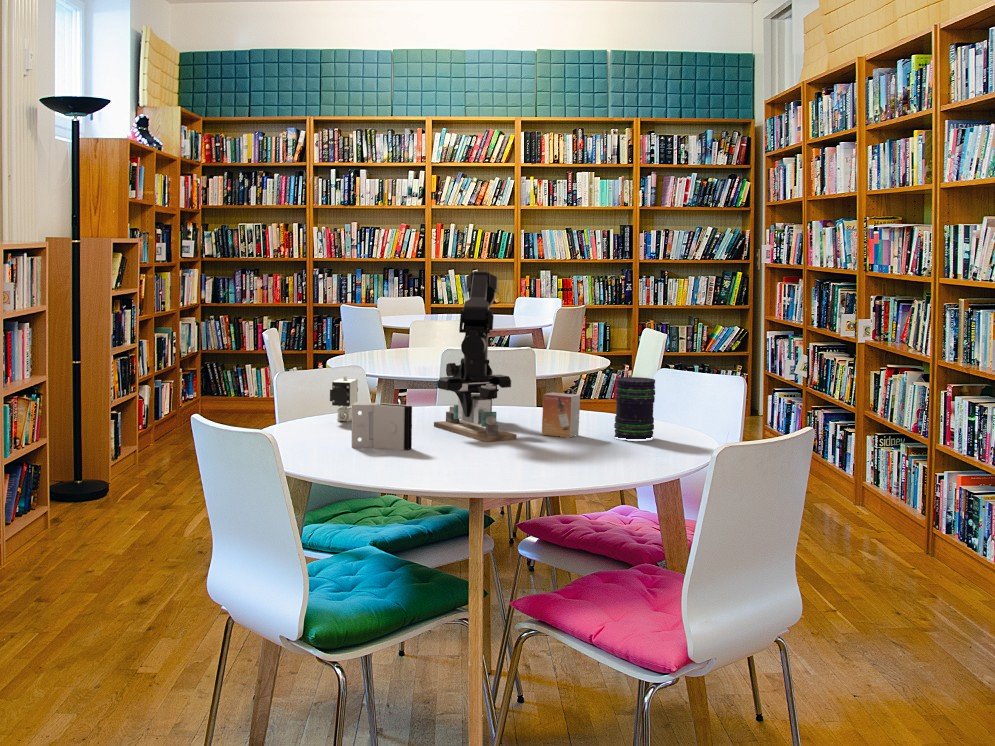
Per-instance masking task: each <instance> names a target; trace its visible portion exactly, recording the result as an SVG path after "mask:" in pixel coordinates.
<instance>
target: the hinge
mask: <svg viewBox="0 0 995 746" xmlns="http://www.w3.org/2000/svg"><path fill="white" fill-rule="evenodd" d="M351 408H352V420H351V448H352V449H355V448H375V449H383V450H384V449H386V450H394V451H395V450H396V451H409V450H412V449H413V448H412V444H413V443H412V440H413V438H412V436H413V434H412V433H413V431H412V429H413V427H412V426H413V406H411V405H410V404H409V405H408V404H397V403H386V402H385V403H383V402H381V403H380V404H379V402H368V403H366V404H365V403H364V404H362V403H361V404H360V403H359V404H357V403H355V404H352V405H351ZM359 412H361V414H359ZM359 438H361V440H359Z"/></svg>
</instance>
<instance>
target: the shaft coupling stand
mask: <svg viewBox="0 0 995 746" xmlns="http://www.w3.org/2000/svg"><path fill="white" fill-rule="evenodd" d="M433 427H434V428H438V429H441V430H444V431H448V432H451V433H455V434H458V435H461V436H464V437H467V438H471V439H474V440H478V441H481V442H484V443H489V442H491V443H492V442H498V441H500V442H501V441H502V440H503V441H511V440H513V439H514V440H517V437H518V434H516V433H512V432H510V431H509V432H508V431H506V430H501V429H499V425H498V424H497V411H492V412H482V417H481V424H475V423H471V422H467V421H463V420H461V419H458V404H453V406H451V405H450V406H449V411H445V420H442V421H440V420H439V421H434V422H433Z"/></svg>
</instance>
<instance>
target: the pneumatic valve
mask: <svg viewBox="0 0 995 746" xmlns="http://www.w3.org/2000/svg"><path fill="white" fill-rule="evenodd" d="M331 385H332V386H331V389H329V401H330V402H331V406H332V407H333V406H338V409H337V410H336V411H337V418H336V421H337V422H347V423H349V422H352V405H355V404H357V403H358V391H359V388H358V378H347V375H345V376H343V378H339V379H337V380H335V379H334V380H332V381H331Z"/></svg>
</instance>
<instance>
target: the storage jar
mask: <svg viewBox="0 0 995 746" xmlns="http://www.w3.org/2000/svg"><path fill="white" fill-rule="evenodd" d="M655 389H656V379H654V378H649V377H640V376H639V377H637V376H636V377H635V376H630V377H629V376H625V377H624V376H622V377H621V376H620V377H617V378H616V385H615V402H616V405H615V406H616V407H615V408H616V409H615V410H616V412H615V413H616V414H615V416H614V425H613V426H614V427H613V428H614V437H618V438H626V439H646V438H651V437H653V438H654V430H655V424H654V423H655V419H654V403H655V400H656V399H655V398H656V396H655V395H656V390H655Z"/></svg>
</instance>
